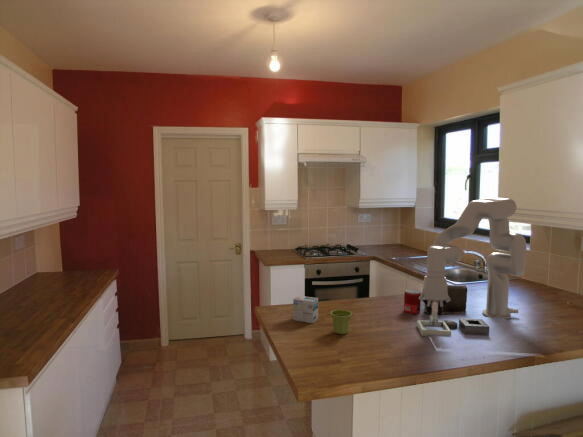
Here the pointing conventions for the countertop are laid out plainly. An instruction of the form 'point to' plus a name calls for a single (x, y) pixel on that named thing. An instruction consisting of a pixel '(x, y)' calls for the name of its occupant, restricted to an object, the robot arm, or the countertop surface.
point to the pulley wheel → (450, 324)
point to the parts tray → (427, 332)
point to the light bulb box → (305, 309)
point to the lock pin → (434, 312)
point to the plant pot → (341, 320)
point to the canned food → (412, 301)
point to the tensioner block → (473, 327)
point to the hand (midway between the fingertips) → (434, 314)
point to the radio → (455, 300)
